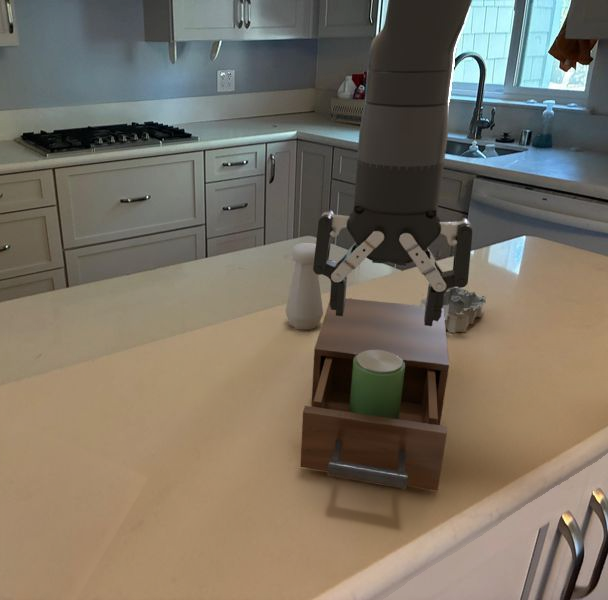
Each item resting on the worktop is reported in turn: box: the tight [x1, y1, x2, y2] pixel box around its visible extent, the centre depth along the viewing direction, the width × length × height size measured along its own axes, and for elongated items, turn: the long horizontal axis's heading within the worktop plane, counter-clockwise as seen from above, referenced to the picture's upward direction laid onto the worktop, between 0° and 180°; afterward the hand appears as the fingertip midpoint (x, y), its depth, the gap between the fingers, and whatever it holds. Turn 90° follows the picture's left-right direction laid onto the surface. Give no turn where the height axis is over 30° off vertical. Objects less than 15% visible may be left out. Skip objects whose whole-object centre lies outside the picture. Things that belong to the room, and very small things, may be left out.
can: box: [349, 350, 405, 419], centre depth 65 cm, size 5×5×9 cm
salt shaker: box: [285, 242, 324, 331], centre depth 94 cm, size 6×6×13 cm
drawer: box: [299, 356, 448, 492], centre depth 64 cm, size 19×13×7 cm
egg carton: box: [420, 287, 487, 334], centre depth 96 cm, size 11×8×4 cm
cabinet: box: [310, 297, 450, 425], centre depth 77 cm, size 16×15×9 cm
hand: (383, 317), depth 62 cm, fingers open, 8 cm apart
